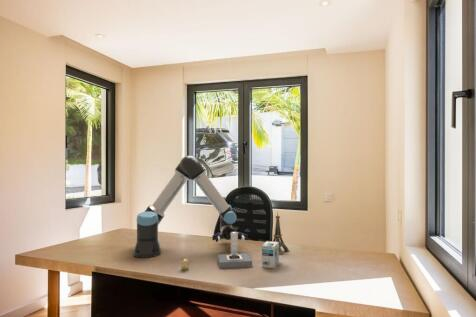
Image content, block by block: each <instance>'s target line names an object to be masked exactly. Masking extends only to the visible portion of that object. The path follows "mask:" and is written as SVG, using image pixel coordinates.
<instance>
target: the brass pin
mask: <svg viewBox="0 0 476 317" xmlns="http://www.w3.org/2000/svg"><path fill="white" fill-rule="evenodd" d="M189 260H190V259H189V258H181V259H180V271H182V272H188V271H189V262H190V261H189Z"/></svg>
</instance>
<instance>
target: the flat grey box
mask: <svg viewBox="0 0 476 317" xmlns="http://www.w3.org/2000/svg"><path fill="white" fill-rule="evenodd" d="M217 261H218V262H217V263H218V266H219V269H223V270H224V269H235V268H236V269H237V268H238V269H239V268H252V267H253V260H252V259H251V257H250V256H249V254H248V253H247V252H246V253H245V252H244V253H238V259H231V253H226V254H224V253H223V254H219V253H218V254H217Z"/></svg>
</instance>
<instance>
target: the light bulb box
mask: <svg viewBox="0 0 476 317" xmlns="http://www.w3.org/2000/svg"><path fill="white" fill-rule="evenodd" d="M261 254H262V255H261V260H262V261H261V264H262V268H269V269H276V267H277V266H278V265H279V263H280V255H279V242H273V241H270V240H266V241H265V242H264V243H263V244H262V246H261Z"/></svg>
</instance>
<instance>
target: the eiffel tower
mask: <svg viewBox="0 0 476 317" xmlns="http://www.w3.org/2000/svg"><path fill="white" fill-rule="evenodd" d="M274 217H275V220H276V221H275V229H274V234H273V241H272V242H279V256H283V255H284V252H285V253H290V252H289V251H290V249H289V248H288V247H287V245H285V242H284V240H283V238H282V237H283V234H282V231H281V224H280V218H281V216H280V215H279V211H277V215H275V216H274ZM282 249H283V250H282Z"/></svg>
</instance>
